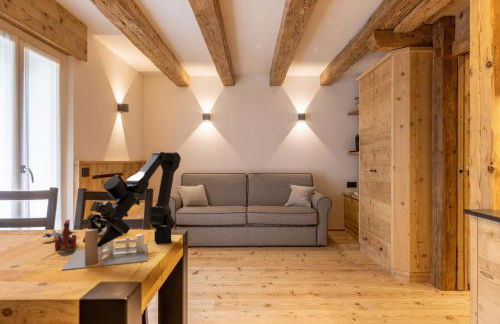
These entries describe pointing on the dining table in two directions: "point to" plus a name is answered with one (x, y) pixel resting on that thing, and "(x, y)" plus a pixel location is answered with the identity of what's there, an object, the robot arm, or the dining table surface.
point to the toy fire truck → (65, 237)
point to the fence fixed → (127, 244)
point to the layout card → (107, 258)
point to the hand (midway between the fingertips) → (90, 244)
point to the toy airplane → (56, 234)
